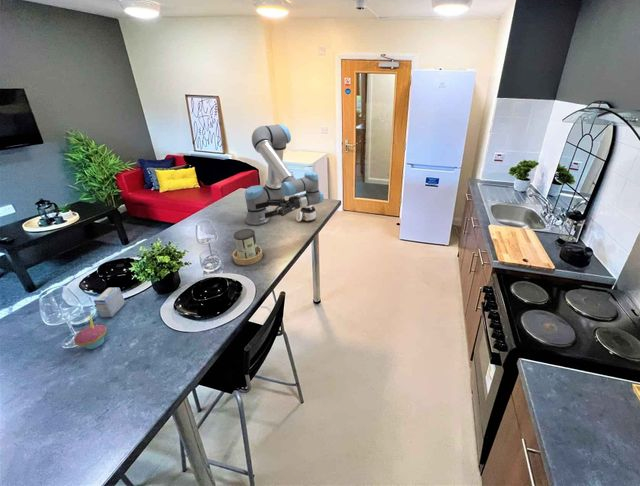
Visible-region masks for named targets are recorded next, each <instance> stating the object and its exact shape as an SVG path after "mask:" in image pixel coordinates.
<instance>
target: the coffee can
mask: <svg viewBox="0 0 640 486" xmlns="http://www.w3.org/2000/svg"><path fill="white" fill-rule="evenodd" d="M232 236H233V239H234V244H235V250H236V249H237V254H238V258H239V259H247V258H251V257H254V256H256V255H257V254H258V251H257V246H258V245H257V240H256V239H257V238H256V231H255V230H254V229H252V228H242V229H239V230H236V231H235V232H233V235H232Z"/></svg>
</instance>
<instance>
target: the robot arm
mask: <svg viewBox="0 0 640 486" xmlns="http://www.w3.org/2000/svg"><path fill="white" fill-rule="evenodd" d="M290 132H291V131H290V130H289V128H288V127H287V126H286V125H285V124H282V123H281V124H271V125H259V126H258V127H256V128H255V129H254V130H253V132H252V134H251V144H252V146H253V148H254V150H255V152H257V153H258V154H260V156H261V157H262V158H263V160H264V161H265V163H267V166H268V167H267V180H265V185H264V186H262V185H251V186H249V187H247V188H246V189H245V191H244V199H245V204H246V209H247V212H246V217H245V222H246V224H247V225H250V226H260V225H261V226H262V225H265V224H267V223H269V222H270V221H271V218H272V217H276V216H281V217H284V216H286V215H287V214H289V213H291V212H293V211H295V210H298V209H301V208H303V207H307V206H311V205H313V206H314V205H318V204H322V203H323V202H324V199H325V198H324V193H323V192H322V190H320V189H319V174H318V172H316V171H306V172H304V176H303V177H300V178H296V177H295V175H293V173H292V172H291V171H290V169H289V167H288V166H287V165H286V163H285V162H284V161H283V160H284V151H285V150H286V149H287V144H290V142H291V140H292V137H291V135H292V134H291V133H290ZM303 192H305V193H303ZM285 197H288V199H286V198H285ZM269 207H275V209H274V210H270V211H268V210H267V208H269Z"/></svg>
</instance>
